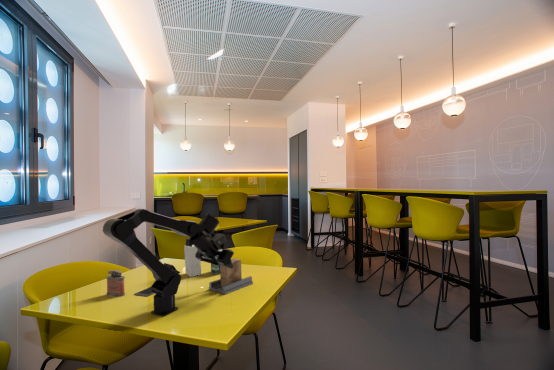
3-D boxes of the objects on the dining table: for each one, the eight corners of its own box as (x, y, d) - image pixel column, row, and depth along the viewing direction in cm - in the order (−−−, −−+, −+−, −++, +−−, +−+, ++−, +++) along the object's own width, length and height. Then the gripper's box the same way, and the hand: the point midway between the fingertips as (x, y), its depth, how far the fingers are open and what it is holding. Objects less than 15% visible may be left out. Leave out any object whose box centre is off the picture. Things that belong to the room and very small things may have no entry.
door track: (225, 294, 114) (224, 287, 114) (208, 289, 120) (208, 282, 120) (252, 283, 126) (252, 276, 126) (236, 279, 133) (236, 273, 133)
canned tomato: (211, 270, 149) (210, 249, 149) (226, 269, 150) (226, 248, 151) (210, 274, 141) (210, 252, 141) (226, 273, 143) (226, 251, 143)
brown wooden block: (227, 287, 119) (227, 263, 119) (220, 285, 121) (220, 262, 122) (241, 282, 125) (241, 259, 125) (234, 280, 128) (234, 258, 128)
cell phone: (133, 295, 116) (133, 294, 116) (158, 284, 129) (158, 283, 129) (147, 297, 114) (147, 295, 114) (171, 286, 127) (171, 284, 127)
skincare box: (201, 275, 141) (200, 245, 141) (189, 277, 138) (188, 246, 138) (196, 271, 148) (195, 242, 148) (184, 273, 145) (183, 244, 145)
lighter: (127, 294, 117) (126, 269, 118) (120, 297, 114) (120, 272, 114) (111, 292, 120) (110, 268, 120) (104, 295, 116) (104, 271, 116)
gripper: (229, 229, 111) (250, 252, 119) (200, 226, 123) (221, 247, 131) (213, 253, 105) (236, 276, 113) (184, 247, 117) (207, 268, 125)
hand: (225, 266), depth 121 cm, fingers open, 9 cm apart
